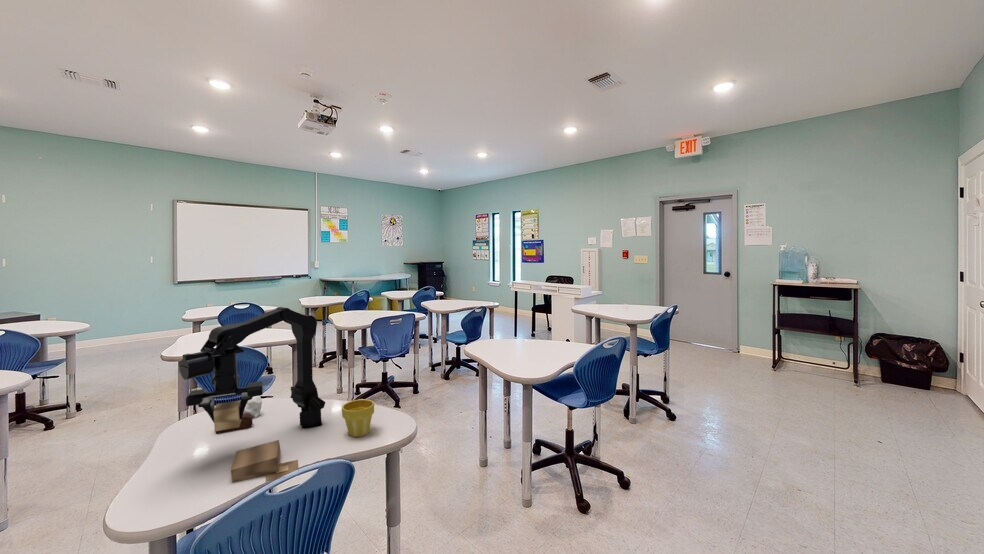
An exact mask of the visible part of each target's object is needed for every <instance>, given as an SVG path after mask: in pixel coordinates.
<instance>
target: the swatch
mask: <svg viewBox="0 0 984 554" xmlns="http://www.w3.org/2000/svg"><path fill="white" fill-rule="evenodd" d="M296 469H298V470H299V459H295V460H291V461H285V462H282V463H281V462H280V467H279V471H276V472H273V473H269V474H266V475H265V482H271V481H274V479H275V480H277V479H276V478H278V477H281V476H283V475H285V474H288V473H289V472H292V471H294V470H296Z"/></svg>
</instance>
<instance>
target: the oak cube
mask: <svg viewBox="0 0 984 554" xmlns="http://www.w3.org/2000/svg"><path fill="white" fill-rule="evenodd" d="M240 402H241V401H240V400H235V401H234V400H233V401H227V402H221V403H217V404H216V405H215V406H214V407H215V409H214V411H213V412H214V422H213V423H214V424H213V425H214V426H213V428H214V432H216V431H220V430H226V429H232V428H237V427H239V426H240V423H241V420H240V416H239V415H240Z"/></svg>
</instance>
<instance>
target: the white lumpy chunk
mask: <svg viewBox="0 0 984 554" xmlns="http://www.w3.org/2000/svg"><path fill="white" fill-rule="evenodd" d="M239 401H241V399H240V400H239ZM262 404H263V401H262V398H261V396H254V397H253V398H252V399H251V400H248V402H247V404H246V406H245V409H244V412H243V413H250V414H251V415H252V417H253V418H254V419H255V418H257V417H258V416H259V415H260V413H261V411H262Z"/></svg>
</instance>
